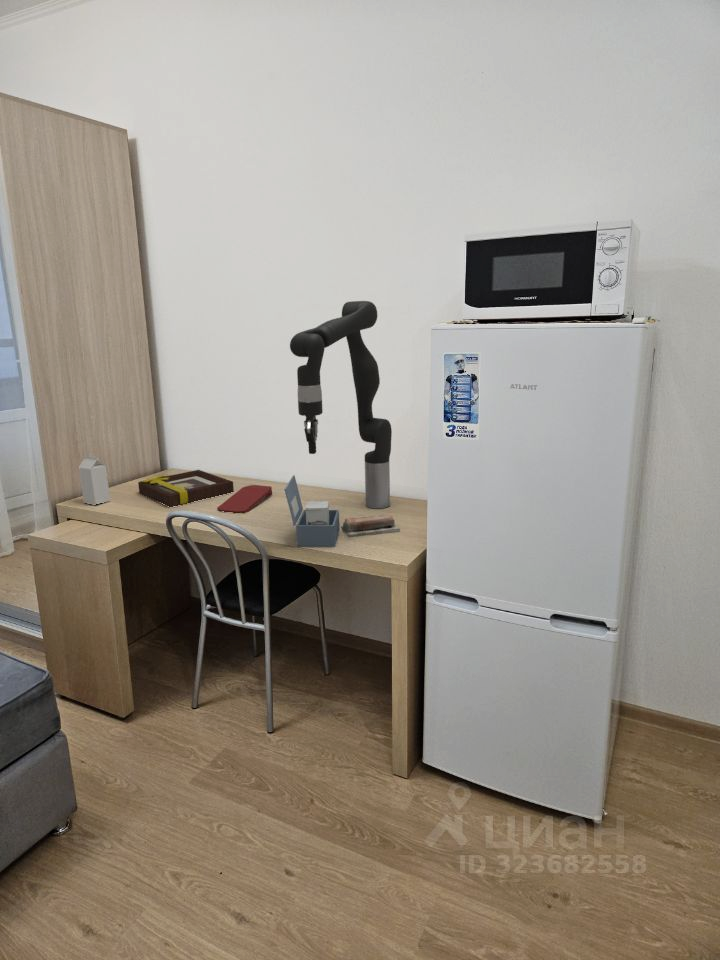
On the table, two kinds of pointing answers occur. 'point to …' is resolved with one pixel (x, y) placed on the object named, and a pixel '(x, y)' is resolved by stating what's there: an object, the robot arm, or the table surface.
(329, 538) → the open blue-gray box
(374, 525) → the packaged product
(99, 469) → the milk carton
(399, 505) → the table surface
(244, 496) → the red wedge
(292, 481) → the lid
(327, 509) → the supplement box
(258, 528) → the table surface
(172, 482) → the brown gift box
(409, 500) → the table surface
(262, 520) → the table surface
